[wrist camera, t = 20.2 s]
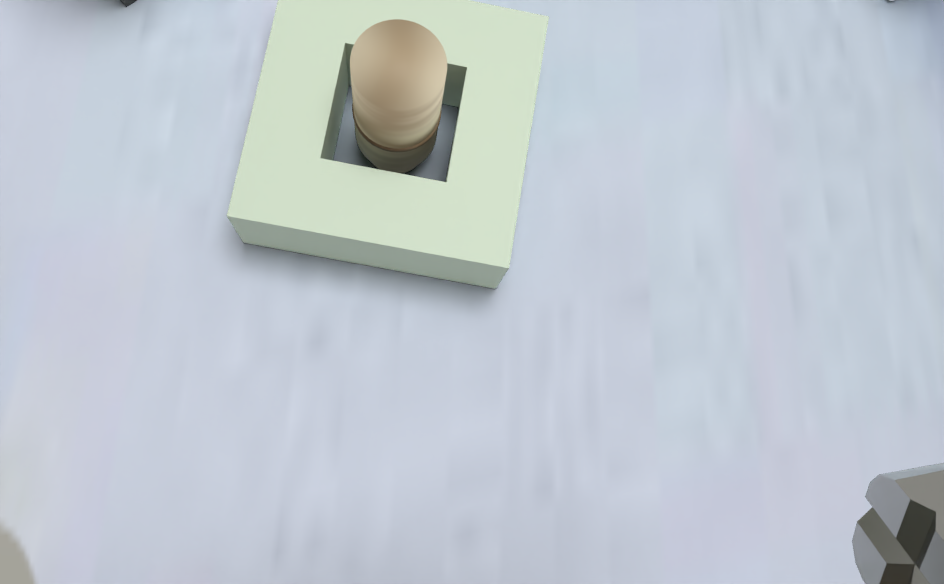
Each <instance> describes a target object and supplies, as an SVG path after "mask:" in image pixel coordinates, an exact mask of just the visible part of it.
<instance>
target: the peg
mask: <svg viewBox="0 0 944 584" xmlns="http://www.w3.org/2000/svg"><path fill="white" fill-rule="evenodd" d="M350 73H351V85H352V98H353V104H352V110H353V118H354V123H355V135H356V140H357V144H358V146H359V148H360V150H361V152H362V153H363V154H364V156H365V157H366V158H367V159H368V160H369V161H371V162H372V164H373V165H374V166H375V167H377V168H378V169H380V170H385V171H390V172H395V173H401V174H402V173H406V172H409V171H411V170H412V169H414V168H415V167H416V166H417V165H419V164H420V163H421V162H423V161H424V160H425V159H426V158H427V157H428V156H429V154H430V153H431V151H432V150H433V147H434V145H435V141H436V136H437V130H438V125H439V122H440V118H441V105H442V99H443V93H444V87H445V81H446V74H447V58H446V54H445V51H444V48H443V46H442V44H441V43H440V41H439V40H438V38H437V37H436V36H435V35H434V34H433V33H432V32H431V31H430V30H428V29H427V28H425V27H424V26H422V25H420V24H418V23H415V22H412V21H408V20H402V19H393V20H386V21H382V22H379V23H376V24H374V25H373V26H371V27H369V28H368V29H366V30H365V31H364V32H363V33H362V34H361V35H360V36H359V37H358V39H357V40H356V42H355V44H354V46H353V48H352V51H351V56H350Z"/></svg>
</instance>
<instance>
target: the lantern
mask: <svg viewBox="0 0 944 584" xmlns="http://www.w3.org/2000/svg"><path fill="white" fill-rule="evenodd" d="M135 1H137V0H121V2H122V3H123V4H124V5H125V6H126V7H127V6H129V5H130V4H132V3H134V2H135Z"/></svg>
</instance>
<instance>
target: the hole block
mask: <svg viewBox="0 0 944 584" xmlns="http://www.w3.org/2000/svg"><path fill="white" fill-rule="evenodd" d="M393 19H402V20H408V21H412V22H415V23H418V24H420V25H422V26H424V27H425V28H427V29H428V30H430V31H431V32H432V33H433V34H434V35H435V36H436V37H437V38H438V40H439V41H440V43H441V44H442V46H443V48H444V51H445V54H446V58H447V74H446V81H445V87H444V93H443V99H442V104H445V105H451V106H456V107H459V109H458V115H457V120H456V126H455V131H454V137H453V142H452V148H451V153H450V159H449V165H448V170H447V176H446V181H445V182H442V181H437V180H432V179H427V178H421V177H416V176H411V175H406V174H401V173H395V172H390V171H385V170H380V169H374V168H369V167H364V166H359V165H353V164H348V163H343V162H338V161H333V158H334V153H335V149H336V144H337V139H338V135H339V130H340V125H341V120H342V116H343V111H344V106H345V102H346V97H347V92H348V87H349V86H352V85H351V73H350V56H351V51H352V48H353V46H354V44H355V42H356V40H357V39H358V37H359V36H360V35H361V34H362V33H363V32H364V31H365V30H366V29H368V28H369V27H371V26H373V25H374V24H376V23H379V22H382V21H386V20H393ZM548 19H549V17H548V16H543V15H538V14H533V13H529V12H524V11H519V10H514V9H509V8H504V7H499V6H494V5H490V4H485V3H480V2H475V1H470V0H278V3H277V7H276V11H275V16H274V20H273V24H272V28H271V32H270V37H269V41H268V45H267V49H266V53H265V58H264V62H263V66H262V70H261V74H260V79H259V83H258V87H257V91H256V96H255V100H254V104H253V108H252V112H251V117H250V121H249V125H248V129H247V133H246V138H245V142H244V146H243V150H242V154H241V159H240V163H239V167H238V171H237V175H236V180H235V184H234V188H233V192H232V196H231V201H230V205H229V209H228V213H227V217H228V219H229V220H230V222H231V223H232V225H233V227H234V228H235V230H236V232H237V233H238V235H239V236H240V238H241V240H242V241H243V243H248V244H253V245H259V246H264V247H270V248H275V249H281V250H286V251H291V252H297V253H302V254H308V255H313V256H319V257H324V258H330V259H335V260H341V261H346V262H351V263H357V264H362V265H368V266H373V267H379V268H384V269H390V270H395V271H401V272H406V273H411V274H417V275H422V276H428V277H433V278H439V279H444V280H450V281H455V282H461V283H466V284H471V285H477V286H482V287H488V288H493V289H496V288H497V286H498V285H499V283H500V282H501V280H502V278H503V277H504V275H505V274H506V272H507V270H508V269H509V264H510V258H511V252H512V245H513V239H514V233H515V227H516V220H517V214H518V208H519V201H520V195H521V189H522V183H523V176H524V170H525V164H526V157H527V151H528V145H529V139H530V132H531V126H532V120H533V113H534V107H535V101H536V94H537V88H538V82H539V76H540V69H541V63H542V57H543V50H544V44H545V38H546V32H547V25H548Z"/></svg>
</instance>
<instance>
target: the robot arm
mask: <svg viewBox="0 0 944 584" xmlns="http://www.w3.org/2000/svg"><path fill="white" fill-rule="evenodd" d="M865 497H866V499H867V500H868V501H869V503H870V504H871V506H872V508H871V509H870V510H869V511H868V512H867V513H866V514H865V515H864V516H863V517H862V518H861V519H860V520H858V521H857V524H856V528H855V532H854V536H853V540H852V543H853V550H854V556H855V563H856V565H857V567H858V570H859V572H860V574H861V577H862V579H863V581H864V582H865V584H944V463H939V464H934V465H928V466H923V467H918V468H912V469H907V470H901V471H896V472H890V473H885V474H880V475H878V476H877V477H876V478H874V479H873V480H872V481H871V482H870V484H869V487H868V490H867V493H866V496H865Z"/></svg>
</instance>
